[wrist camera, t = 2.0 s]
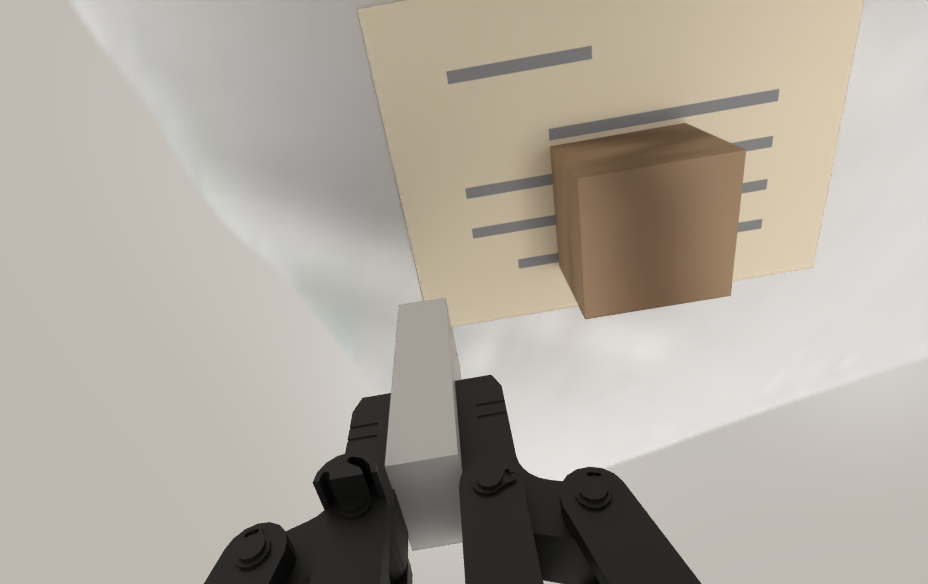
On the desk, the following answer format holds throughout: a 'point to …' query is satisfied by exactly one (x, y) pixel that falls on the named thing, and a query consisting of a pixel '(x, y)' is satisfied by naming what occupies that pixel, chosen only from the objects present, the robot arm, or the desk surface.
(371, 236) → the desk surface
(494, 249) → the letter
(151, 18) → the desk surface
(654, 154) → the block
